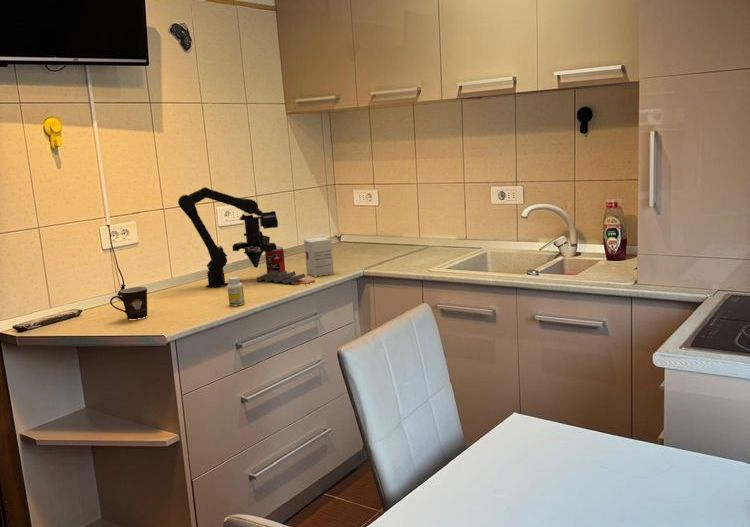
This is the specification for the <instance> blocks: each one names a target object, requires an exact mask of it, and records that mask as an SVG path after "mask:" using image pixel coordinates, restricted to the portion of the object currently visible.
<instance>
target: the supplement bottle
mask: <svg viewBox="0 0 750 527" xmlns="http://www.w3.org/2000/svg"><path fill="white" fill-rule="evenodd" d="M227 280H228V284H227V287H226V288H227V295H228V303H229V304H228V305H229V306H230V305H233V306H232V307H236V306H235V305H240V306H242V304H243V305H245V293H244V286H243V283H242V282H241V277H240V276H230V277H228V278H227Z"/></svg>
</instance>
